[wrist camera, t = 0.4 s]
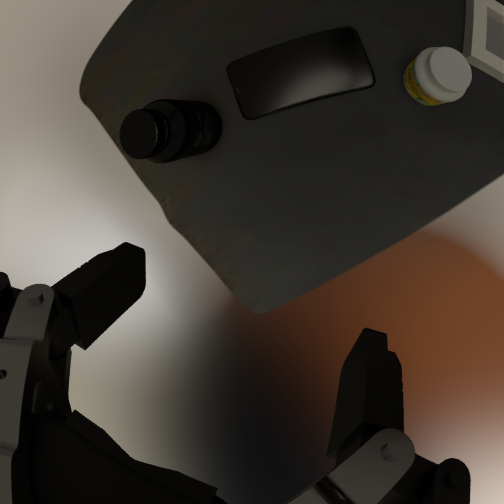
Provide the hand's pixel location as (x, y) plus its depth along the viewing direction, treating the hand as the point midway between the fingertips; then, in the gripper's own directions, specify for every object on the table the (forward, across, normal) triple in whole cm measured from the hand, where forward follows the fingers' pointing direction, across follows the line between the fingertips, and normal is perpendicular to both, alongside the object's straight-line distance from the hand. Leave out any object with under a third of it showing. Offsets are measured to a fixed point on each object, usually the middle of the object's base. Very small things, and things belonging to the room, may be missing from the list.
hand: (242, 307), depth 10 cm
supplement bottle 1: (+26, +16, -2) cm, 31 cm away
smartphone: (+27, +5, -11) cm, 29 cm away
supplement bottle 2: (+27, -9, -14) cm, 31 cm away
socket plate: (+26, -18, -24) cm, 40 cm away
